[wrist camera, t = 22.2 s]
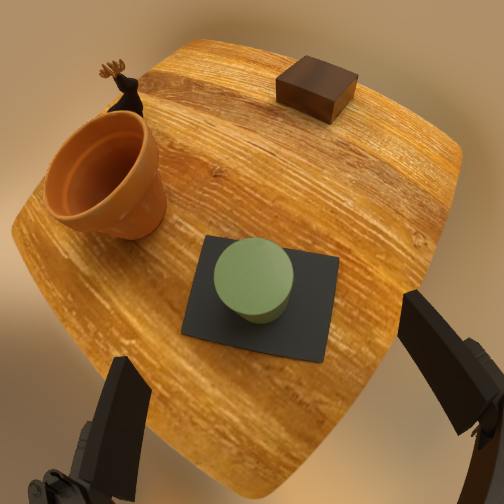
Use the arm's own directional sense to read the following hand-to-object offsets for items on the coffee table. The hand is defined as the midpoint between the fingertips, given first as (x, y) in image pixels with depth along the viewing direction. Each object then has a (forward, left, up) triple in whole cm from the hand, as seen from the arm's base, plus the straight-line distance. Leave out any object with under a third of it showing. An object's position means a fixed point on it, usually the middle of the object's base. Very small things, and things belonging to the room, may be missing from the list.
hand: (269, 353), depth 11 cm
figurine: (+31, -31, -18) cm, 48 cm away
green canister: (+2, -5, -17) cm, 18 cm away
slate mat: (+2, -5, -18) cm, 19 cm away
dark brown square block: (-1, -39, -18) cm, 43 cm away
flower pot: (+21, -13, -18) cm, 31 cm away
